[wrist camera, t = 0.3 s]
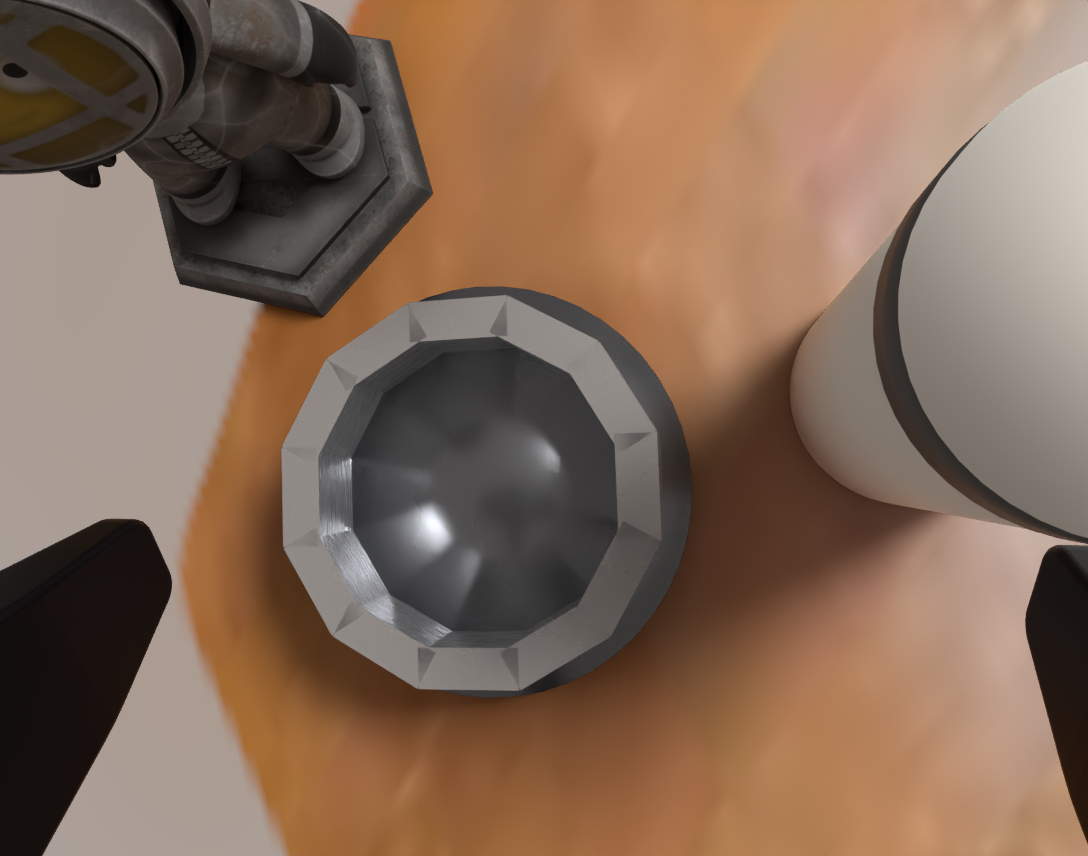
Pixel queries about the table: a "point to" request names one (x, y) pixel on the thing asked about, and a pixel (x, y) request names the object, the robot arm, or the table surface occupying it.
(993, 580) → the table surface
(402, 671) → the mount
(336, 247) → the figurine
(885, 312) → the white domed cylinder
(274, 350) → the table surface
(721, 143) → the table surface
